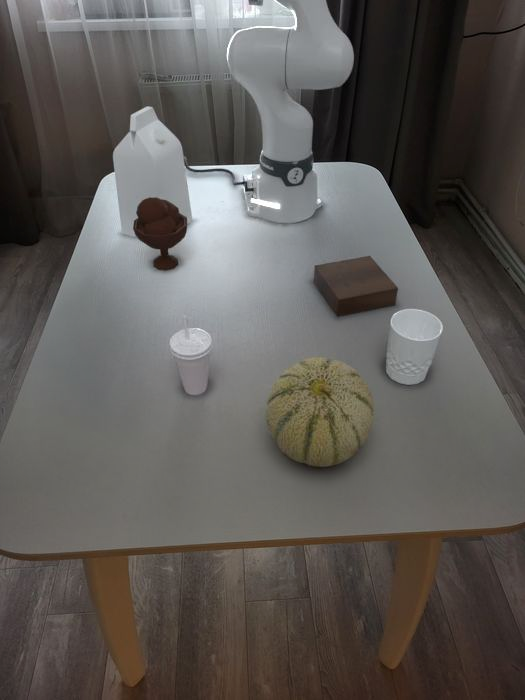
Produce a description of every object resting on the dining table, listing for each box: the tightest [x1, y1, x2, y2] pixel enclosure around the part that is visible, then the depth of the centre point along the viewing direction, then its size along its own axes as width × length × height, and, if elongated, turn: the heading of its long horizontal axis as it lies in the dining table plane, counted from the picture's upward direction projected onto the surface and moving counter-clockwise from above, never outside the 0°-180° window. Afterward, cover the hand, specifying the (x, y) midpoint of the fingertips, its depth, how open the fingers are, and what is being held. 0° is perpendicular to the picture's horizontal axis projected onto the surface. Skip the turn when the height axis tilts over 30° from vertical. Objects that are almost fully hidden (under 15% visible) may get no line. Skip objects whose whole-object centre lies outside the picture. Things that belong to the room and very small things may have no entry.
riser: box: [313, 255, 399, 318], centre depth 108 cm, size 12×12×4 cm
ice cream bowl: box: [133, 197, 188, 271], centre depth 112 cm, size 11×11×15 cm
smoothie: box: [169, 315, 213, 396], centre depth 85 cm, size 6×6×14 cm
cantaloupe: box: [265, 356, 375, 468], centre depth 75 cm, size 15×15×15 cm
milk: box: [112, 105, 194, 238], centre depth 120 cm, size 12×12×26 cm
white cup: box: [385, 308, 444, 386], centre depth 89 cm, size 8×8×10 cm
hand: (211, 0), depth 59 cm, fingers open, 8 cm apart
